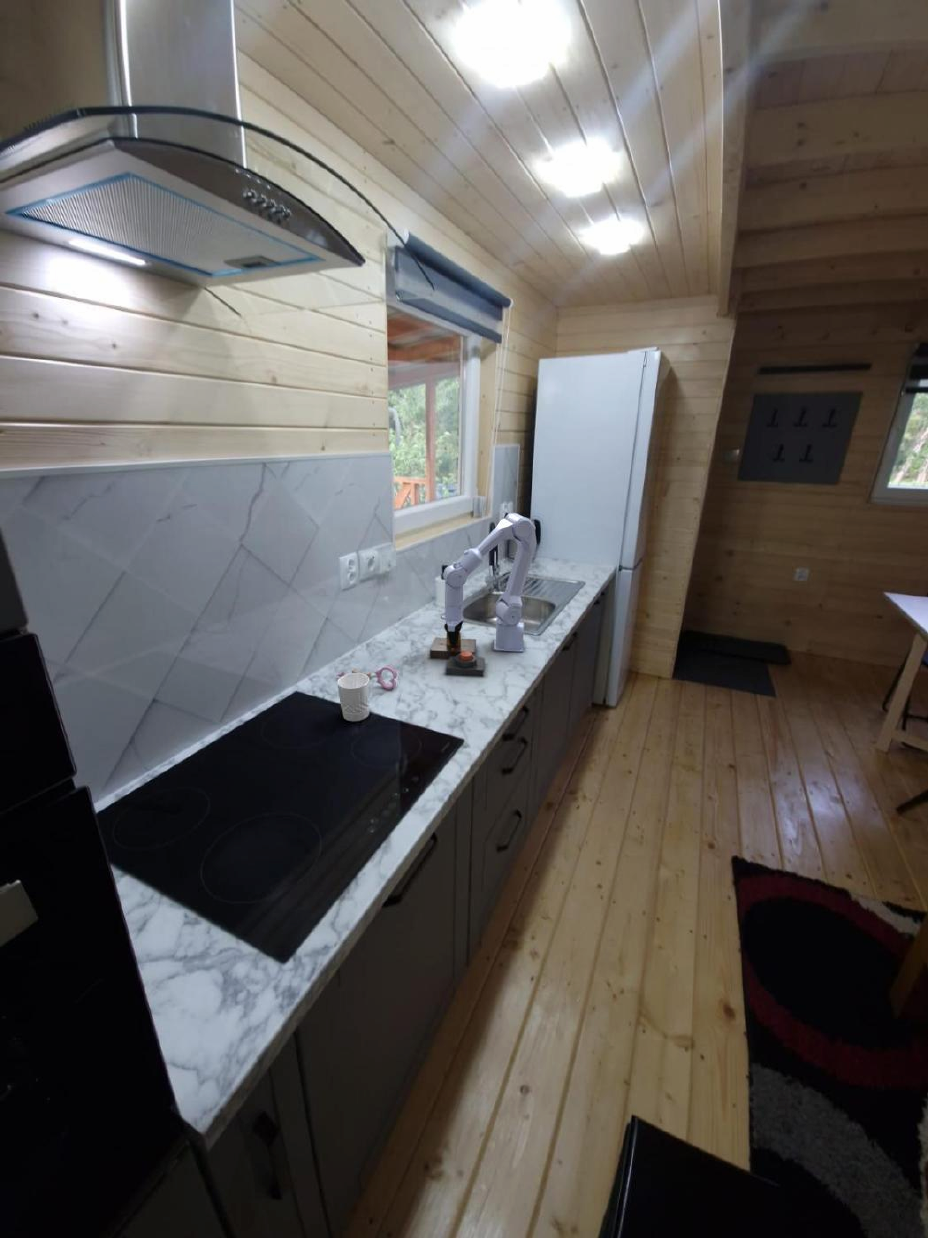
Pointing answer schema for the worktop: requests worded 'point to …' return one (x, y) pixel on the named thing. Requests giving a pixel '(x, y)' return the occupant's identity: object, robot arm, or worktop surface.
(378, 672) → the decorative key
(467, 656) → the bell button
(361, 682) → the white cup
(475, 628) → the worktop surface
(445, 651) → the plate
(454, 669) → the doorbell
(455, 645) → the lock knob
